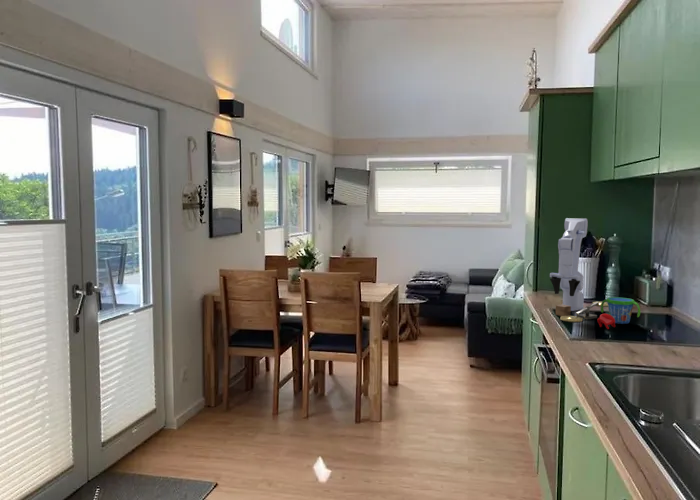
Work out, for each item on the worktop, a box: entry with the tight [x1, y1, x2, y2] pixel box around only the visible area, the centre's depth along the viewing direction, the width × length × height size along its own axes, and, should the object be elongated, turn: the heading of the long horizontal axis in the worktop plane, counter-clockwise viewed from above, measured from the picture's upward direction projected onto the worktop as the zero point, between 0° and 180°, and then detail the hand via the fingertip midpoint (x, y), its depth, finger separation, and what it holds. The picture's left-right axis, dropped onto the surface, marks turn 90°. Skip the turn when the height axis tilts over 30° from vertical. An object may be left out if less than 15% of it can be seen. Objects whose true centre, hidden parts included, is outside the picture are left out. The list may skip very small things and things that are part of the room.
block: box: [555, 303, 572, 317], centre depth 254 cm, size 4×4×4 cm
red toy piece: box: [596, 312, 616, 330], centre depth 229 cm, size 8×6×6 cm
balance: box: [559, 301, 608, 323], centre depth 248 cm, size 30×9×7 cm, turn 120°
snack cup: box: [600, 296, 641, 325], centre depth 239 cm, size 16×10×10 cm
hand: (564, 294), depth 251 cm, fingers open, 7 cm apart
